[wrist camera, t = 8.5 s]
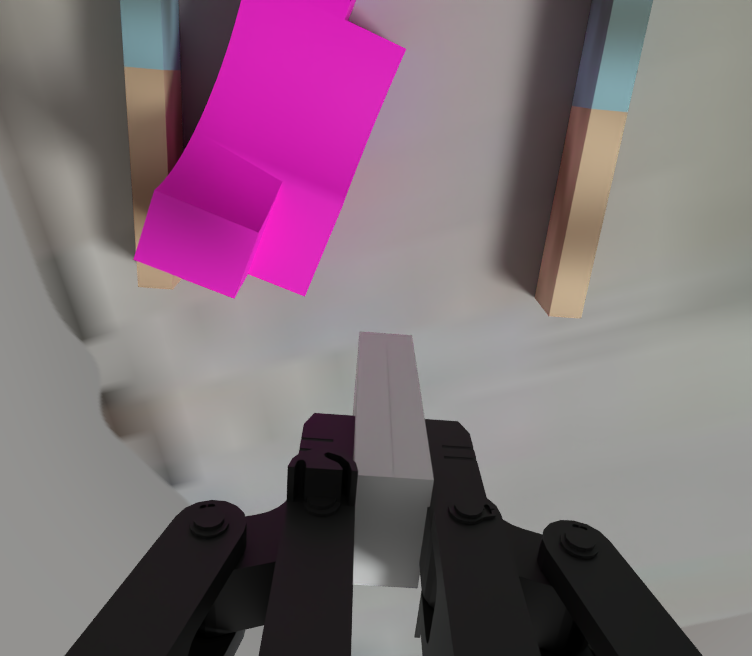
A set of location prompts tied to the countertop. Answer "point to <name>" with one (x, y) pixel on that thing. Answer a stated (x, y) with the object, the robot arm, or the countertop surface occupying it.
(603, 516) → the countertop surface
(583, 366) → the countertop surface
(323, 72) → the toy block
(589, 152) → the rack bay
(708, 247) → the countertop surface
